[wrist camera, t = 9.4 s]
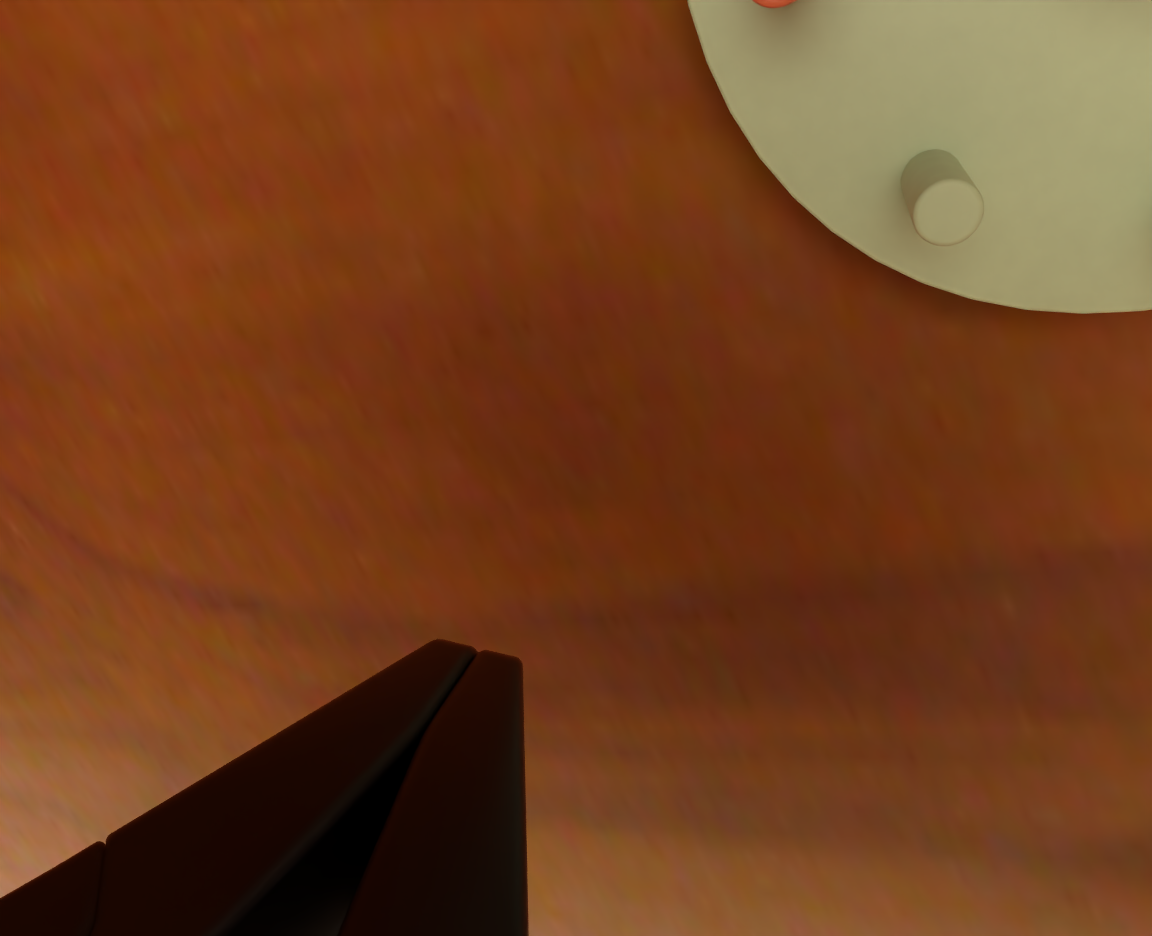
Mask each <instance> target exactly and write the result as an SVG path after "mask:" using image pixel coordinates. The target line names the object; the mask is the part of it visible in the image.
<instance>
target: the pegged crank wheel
mask: <svg viewBox="0 0 1152 936" xmlns="http://www.w3.org/2000/svg"><path fill="white" fill-rule="evenodd" d="M687 1H688V6H689V9H690V12H691V15H692V18H693V22H694V25H695V28H696V31H697V34H698V37H699V40H700V43H701V47H702V50H703V53H704V56H705V59H706V62H707V64H708V66H709V68H710V71H711V73H712V75H713V77H714V79H715V81H716V83H717V85H718V88H719V90H720V92H721V94H722V96H723V98H724V100H725V103H726V105H727V107H728V109H729V111H730V113H731V115H732V116H733V118H734V119H735V121H736V122H737V124H738V125H739V127H740V129H741V130H742V132H743V133H744V135H745V136H746V138H747V139H748V141H749V143H750V144H751V146H752V147H753V149H754V150H755V152H756V154H757V155H758V157H759V158H760V159H761V160H762V162H763V163H764V164H765V165H766V166H767V167H768V169H769V170H770V171H771V172H772V173H773V174H774V176H775V177H776V178H777V179H778V180H779V181H780V183H781V184H782V185H783V186H784V187H785V188H786V190H787V191H788V192H789V193H790V194H791V196H792V197H793V198H794V199H795V200H797V201H798V202H799V203H800V204H801V205H802V206H803V207H804V208H806V209H807V210H808V211H809V212H810V213H811V214H812V215H813V216H815V217H816V218H817V219H818V220H819V221H820V222H821V223H823V224H824V225H825V226H826V227H827V228H828V229H829V230H830V231H832V232H833V233H834V234H836V235H837V236H839V237H840V238H842V239H843V240H845V241H846V242H848V243H850V244H851V245H853V246H854V247H856V248H857V249H859V250H860V251H862V252H863V253H865V254H866V255H868V256H869V257H871V258H872V259H874V260H875V261H877V262H879V263H881V264H883V265H886V266H888V267H890V268H892V269H894V270H896V271H898V272H900V273H902V274H904V275H906V276H908V277H910V278H912V279H914V280H916V281H919V282H921V283H923V284H926V285H929V286H932V287H936V288H939V289H942V290H945V291H948V292H951V293H954V294H957V295H960V296H963V297H966V298H969V299H972V300H977V301H982V302H988V303H993V304H998V305H1003V306H1008V307H1013V308H1019V309H1024V310H1035V311H1050V312H1064V313H1078V314H1088V313H1109V312H1131V311H1145V310H1151V309H1152V0H687Z"/></svg>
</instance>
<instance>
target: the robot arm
mask: <svg viewBox="0 0 1152 936" xmlns="http://www.w3.org/2000/svg"><path fill="white" fill-rule="evenodd" d="M0 936H529V932H528V886H527V840H526V795H525V749H524V703H523V666H522V662H521V660H520V659H519V658H517V657H514V656H509V655H505V654H501V653H497V652H493V651H489V650H483V651H481V652H479V653H478V652H477V651H476V649H475V648H474V647H472V646H468V645H464V644H460V643H455V642H451V641H447V640H443V639H436V640H433V641H431V642H429V643H427V644H425V645H424V646H422V647H420V648H419V649H417V650H415V651H414V652H412V653H410V654H409V655H407V656H405V657H404V658H402V659H400V660H399V661H397V662H395V663H394V664H392V665H390V666H389V667H387V668H385V669H384V670H382V671H380V672H379V673H377V674H375V675H374V676H372V677H370V678H369V679H367V680H365V681H364V682H362V683H360V684H359V685H357V686H355V687H354V688H352V689H350V690H349V691H347V692H345V693H344V694H342V695H341V696H339V697H337V698H336V699H334V700H332V701H331V702H329V703H327V704H326V705H324V706H322V707H321V708H319V709H317V710H316V711H314V712H312V713H311V714H309V715H307V716H306V717H304V718H302V719H301V720H299V721H297V722H296V723H294V724H292V725H291V726H289V727H287V728H286V729H284V730H282V731H281V732H279V733H277V734H276V735H274V736H272V737H271V738H269V739H267V740H266V741H264V742H262V743H261V744H259V745H257V746H256V747H254V748H252V749H251V750H249V751H247V752H246V753H244V754H242V755H241V756H239V757H237V758H236V759H234V760H232V761H231V762H229V763H227V764H226V765H224V766H222V767H221V768H219V769H217V770H216V771H214V772H213V773H211V774H209V775H208V776H206V777H204V778H203V779H201V780H199V781H198V782H196V783H194V784H193V785H191V786H189V787H188V788H186V789H184V790H183V791H181V792H179V793H178V794H176V795H174V796H173V797H171V798H169V799H168V800H166V801H164V802H163V803H161V804H159V805H158V806H156V807H154V808H153V809H151V810H149V811H148V812H146V813H144V814H143V815H141V816H139V817H138V818H136V819H134V820H133V821H131V822H129V823H128V824H126V825H124V826H123V827H121V828H119V829H118V830H116V831H114V832H113V833H111V834H110V835H108V837H107V839H106V845H105V844H104V843H103V842H101V841H98V842H96V843H94V844H92V845H90V846H89V847H87V848H86V849H84V850H82V851H81V852H79V853H77V854H76V855H74V856H72V857H71V858H69V859H67V860H66V861H64V862H62V863H61V864H59V865H57V866H56V867H54V868H52V869H50V870H49V871H47V872H45V873H43V874H42V875H40V876H38V877H37V878H35V879H33V880H31V881H30V882H28V883H26V884H24V885H23V886H21V887H19V888H17V889H16V890H14V891H12V892H10V893H9V894H7V895H5V896H3V897H2V898H0Z"/></svg>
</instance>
